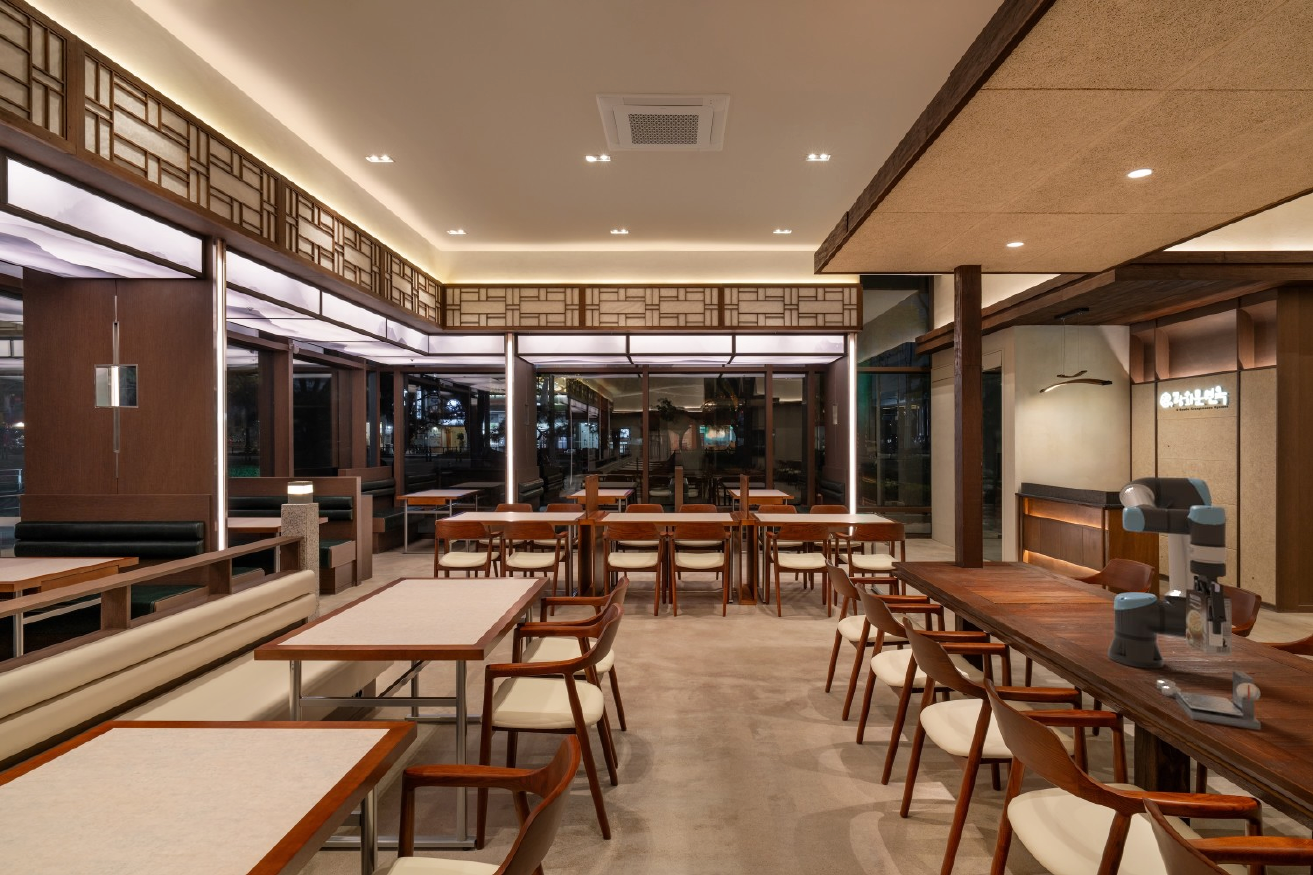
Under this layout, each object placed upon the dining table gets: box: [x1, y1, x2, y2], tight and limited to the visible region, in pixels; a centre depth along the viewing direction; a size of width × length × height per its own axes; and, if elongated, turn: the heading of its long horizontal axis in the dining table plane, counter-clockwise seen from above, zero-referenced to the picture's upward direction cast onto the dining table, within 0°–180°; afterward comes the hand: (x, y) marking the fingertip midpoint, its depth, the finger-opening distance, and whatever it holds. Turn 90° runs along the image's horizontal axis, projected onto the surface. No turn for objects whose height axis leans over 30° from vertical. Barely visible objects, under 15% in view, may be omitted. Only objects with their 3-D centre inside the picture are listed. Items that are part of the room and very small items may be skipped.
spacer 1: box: [1156, 678, 1176, 691], centre depth 187 cm, size 4×4×2 cm
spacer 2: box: [1161, 684, 1182, 699], centre depth 182 cm, size 4×4×2 cm
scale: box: [1175, 670, 1262, 731], centre depth 169 cm, size 14×15×12 cm
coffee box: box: [1185, 589, 1233, 657], centre depth 171 cm, size 9×6×16 cm
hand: (1208, 640), depth 170 cm, fingers closed on coffee box, 10 cm apart
